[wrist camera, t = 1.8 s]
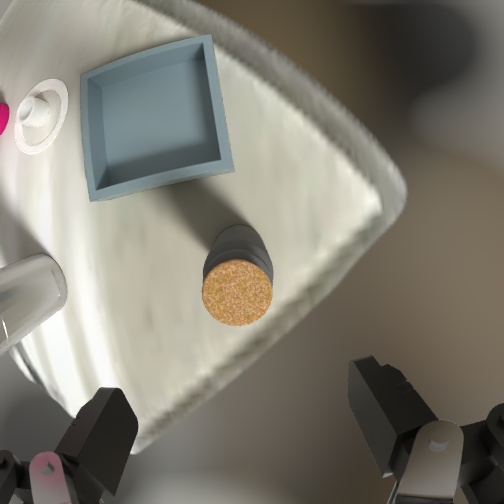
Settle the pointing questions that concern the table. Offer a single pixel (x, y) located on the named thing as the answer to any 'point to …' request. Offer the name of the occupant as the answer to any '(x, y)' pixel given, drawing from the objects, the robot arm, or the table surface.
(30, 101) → the candle holder
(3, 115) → the pepper mill
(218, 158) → the tote
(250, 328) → the table surface
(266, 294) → the bottle
